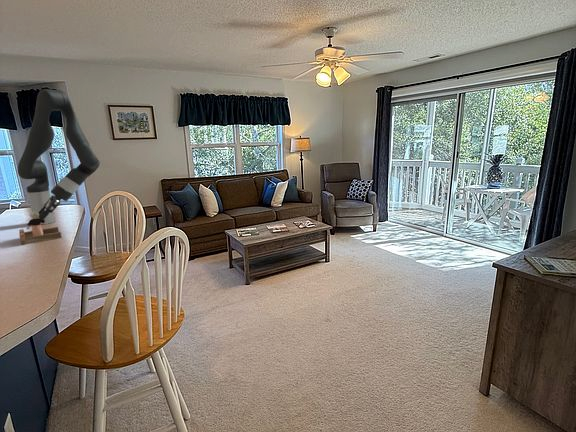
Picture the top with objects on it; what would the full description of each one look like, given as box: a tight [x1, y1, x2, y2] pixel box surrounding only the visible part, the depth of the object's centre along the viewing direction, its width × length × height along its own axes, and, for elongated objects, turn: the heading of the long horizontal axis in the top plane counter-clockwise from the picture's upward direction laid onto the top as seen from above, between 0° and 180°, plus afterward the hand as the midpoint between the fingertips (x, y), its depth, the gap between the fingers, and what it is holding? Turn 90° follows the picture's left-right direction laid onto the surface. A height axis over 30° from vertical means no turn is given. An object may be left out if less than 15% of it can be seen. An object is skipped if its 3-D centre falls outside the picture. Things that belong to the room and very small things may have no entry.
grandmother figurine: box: [26, 210, 48, 236], centre depth 139 cm, size 8×4×13 cm, turn 160°
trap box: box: [18, 226, 63, 246], centre depth 141 cm, size 13×14×4 cm
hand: (40, 216), depth 139 cm, fingers open, 8 cm apart
